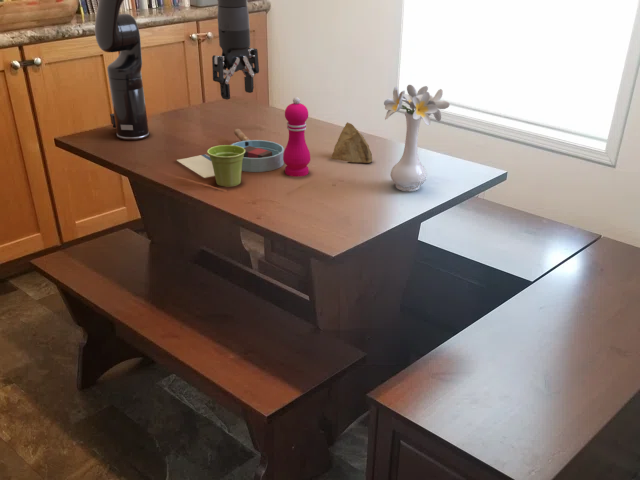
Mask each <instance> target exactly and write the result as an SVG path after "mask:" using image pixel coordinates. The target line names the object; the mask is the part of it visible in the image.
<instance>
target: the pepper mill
mask: <svg viewBox="0 0 640 480" xmlns="http://www.w3.org/2000/svg"><path fill="white" fill-rule="evenodd" d="M300 102H301V99H300V98H299V97H298V96H295V97H293V99H292V103H290V104H288V105H287V106H286V108H285V110H284V118H285V120H286V121H287V123H286V129H287V130H288V139H287V143H286V146H285V147H284V154H283V161H284V164H285V167H284V174H285V175H286V176H289V177H295V178H296V177H298V178H299V177H305V176H307V175H308V174H309V172H310V171H309V170H310V168H309V166H308V165H309V164H310V162H311V153H310V149H309V147H308V145H307V142H306V137H305V132H306V130H307V122H306V121H308V119H309V110H308V107H307V106H306V105H304V104H303V103H300Z"/></svg>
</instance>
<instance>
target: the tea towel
mask: <svg viewBox="0 0 640 480" xmlns="http://www.w3.org/2000/svg"><path fill="white" fill-rule="evenodd" d="M176 162H178V163H179V164H181V165H183V167H186V168H187V169H189V170H190V171H192V172H193V173H195V174H197V175H198V176H200V177H201V178H203V179H207V178H213V177H215V174H214V169H213V165H212V161H211V159H210V156H209V154H207V153H206V154H200V155H195V156H190V157H186V158H180V159H179V158H178V159H176Z"/></svg>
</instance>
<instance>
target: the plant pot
mask: <svg viewBox="0 0 640 480" xmlns="http://www.w3.org/2000/svg"><path fill="white" fill-rule="evenodd" d="M244 153H245V149H244V148H243V147H240V146H235V145H231V144H221V145H214V146H212V147H210V148H208V149H207V151H206V154H207V155H208V156H209V157H210V159H211V161H212V165H213V169H214V174H215V176H214V178H215V182H216V183H215V184H216V185H218V186H220V187H226V188H227V187H230V188H231V187H235V186H238V185H240V184H241V183H242V172H243V171H242V160H243V157H244Z"/></svg>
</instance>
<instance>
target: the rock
mask: <svg viewBox="0 0 640 480" xmlns="http://www.w3.org/2000/svg"><path fill="white" fill-rule="evenodd" d="M372 153H373V152H372V151H371V149H370V145H369V144H368V142H367V141H366V139H365V137H364V135H363V134H362V133H360V132H359V130H358V128H356V127H355V126H354V124H353V123H350V122H346V123H345V125H344V126H343V128H342V130H341V131H340V134H339V137H338V138H337V141H336V143H335V145H334V147H333V152H332V154H331V159H332V160H333V159H334V160H338V161H344V162H348V163H355V164H356V163H358V164H360V163H363V164H370V163H372V162H373V154H372Z"/></svg>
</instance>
